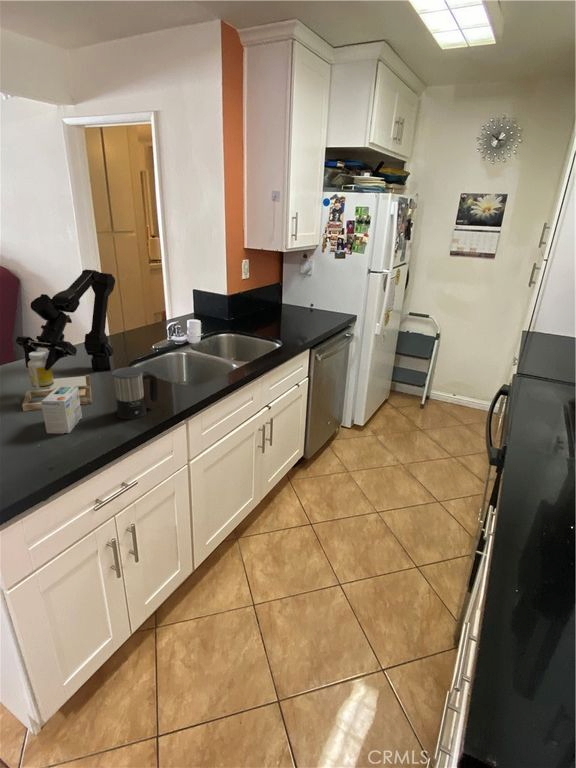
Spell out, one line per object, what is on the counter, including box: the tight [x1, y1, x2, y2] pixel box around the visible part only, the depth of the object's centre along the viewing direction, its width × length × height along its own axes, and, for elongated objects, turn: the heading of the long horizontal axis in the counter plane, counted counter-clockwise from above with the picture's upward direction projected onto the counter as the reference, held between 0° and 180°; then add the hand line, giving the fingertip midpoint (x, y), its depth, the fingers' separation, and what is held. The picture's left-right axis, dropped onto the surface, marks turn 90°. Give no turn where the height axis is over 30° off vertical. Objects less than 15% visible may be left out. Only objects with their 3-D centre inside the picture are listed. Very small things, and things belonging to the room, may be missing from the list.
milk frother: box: [112, 366, 159, 420], centre depth 137 cm, size 14×16×15 cm
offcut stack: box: [78, 389, 87, 398], centre depth 144 cm, size 7×6×3 cm
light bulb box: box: [40, 387, 83, 434], centre depth 124 cm, size 11×7×11 cm, turn 5°
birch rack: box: [22, 374, 92, 412], centre depth 141 cm, size 20×12×6 cm, turn 114°
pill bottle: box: [27, 350, 54, 390], centre depth 136 cm, size 6×6×12 cm
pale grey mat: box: [49, 375, 87, 389], centre depth 154 cm, size 13×13×1 cm
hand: (36, 368), depth 134 cm, fingers closed on pill bottle, 6 cm apart
